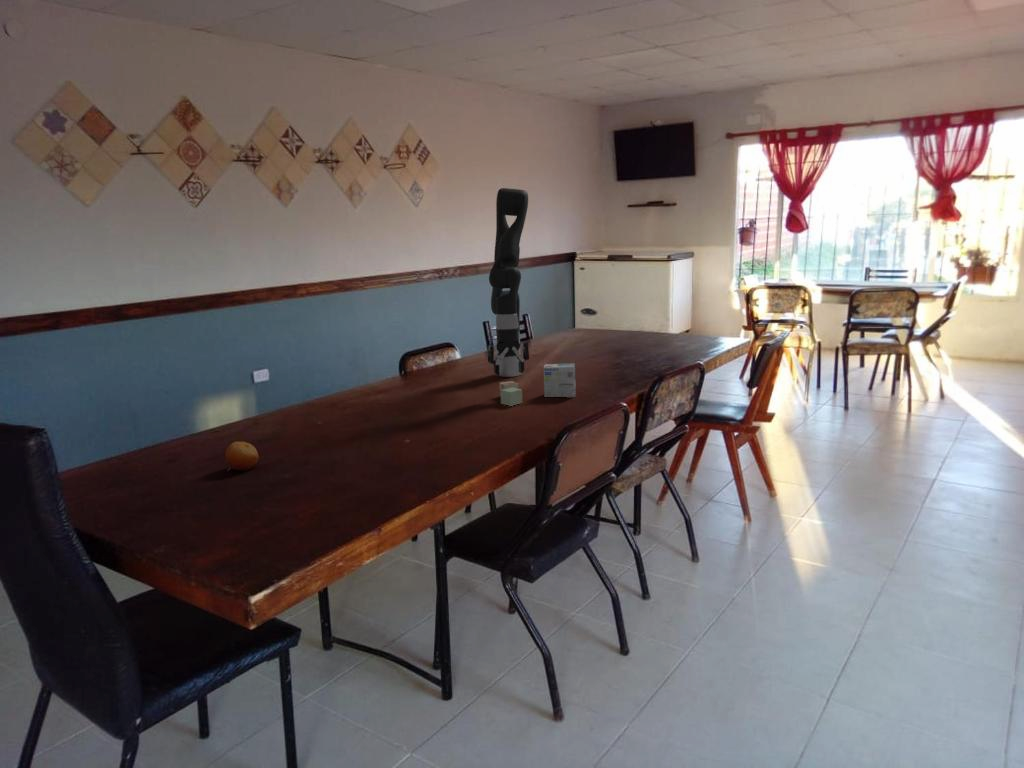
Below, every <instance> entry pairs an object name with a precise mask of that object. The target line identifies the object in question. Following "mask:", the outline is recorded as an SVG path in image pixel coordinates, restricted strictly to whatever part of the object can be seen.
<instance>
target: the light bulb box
mask: <svg viewBox="0 0 1024 768" xmlns="http://www.w3.org/2000/svg"><path fill="white" fill-rule="evenodd" d="M542 368H543V394H544V397H567V398H575V397H576V368H575V363H553V364H552V363H549V364H548V363H545V364H544V366H543V367H542Z"/></svg>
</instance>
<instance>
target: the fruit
mask: <svg viewBox="0 0 1024 768" xmlns="http://www.w3.org/2000/svg"><path fill="white" fill-rule="evenodd" d="M224 457H225V461H226V464H227V466H228V468H227V470H226V471H227V472H229V471H230V470H234V471H242V472H243V471H245V472H246V471H249V470H251V468H252V467H254V466H255V465H256V463H257V462H258V461H259V459H260V457H259V453H258V451H257V449H256V447H255V446H254V445H252V444H251V443H248V442H245V441H233V442H232V443H230V445H228V447H227V448H226V450H225V453H224Z"/></svg>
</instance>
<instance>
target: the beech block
mask: <svg viewBox="0 0 1024 768" xmlns="http://www.w3.org/2000/svg"><path fill="white" fill-rule="evenodd" d="M507 388H517V389H519V383H518V382H515V381H513V380H510V381H505V382H504V381H503V382H499V397H500V396H501V390H503V389H507Z"/></svg>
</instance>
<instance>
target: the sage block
mask: <svg viewBox="0 0 1024 768" xmlns="http://www.w3.org/2000/svg"><path fill="white" fill-rule="evenodd" d="M520 403H522V404H523V390H522V388H518V389H517V388H507V389H503V390H501V397H500V405H501V404H505V405H509V406H508V407H510V406H512V407H514V406H513V405H516V404H520ZM505 405H504V406H505ZM520 405H521V404H520ZM516 406H517V405H516Z"/></svg>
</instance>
